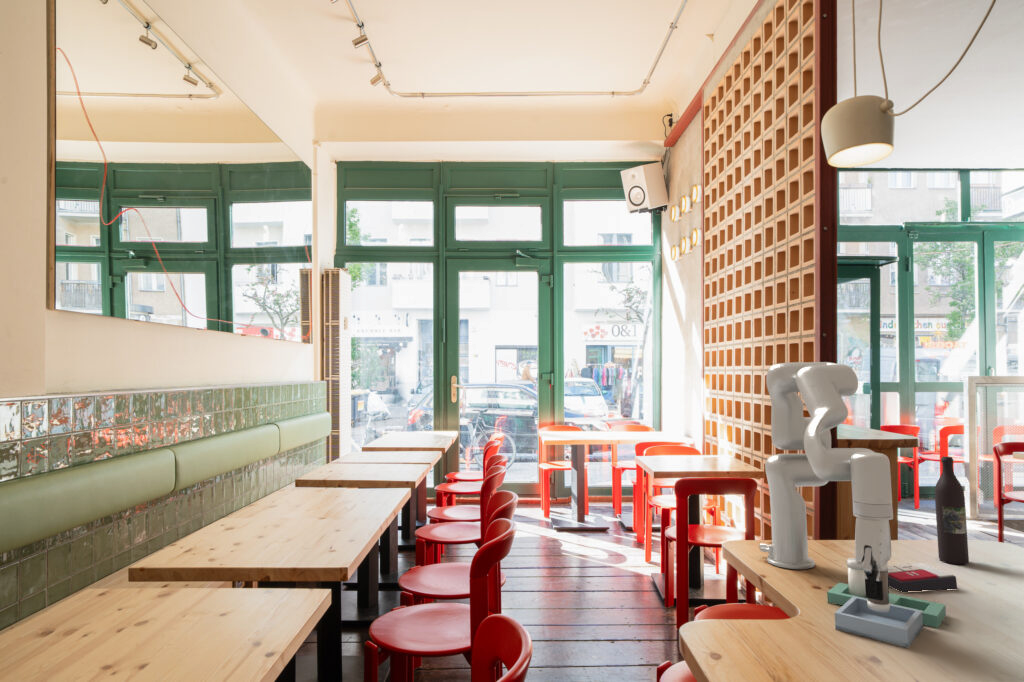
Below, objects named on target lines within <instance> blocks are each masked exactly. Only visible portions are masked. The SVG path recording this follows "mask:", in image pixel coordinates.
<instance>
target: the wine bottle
mask: <svg viewBox="0 0 1024 682" xmlns="http://www.w3.org/2000/svg"><path fill="white" fill-rule="evenodd" d="M940 462H941V463H942V465H941V466H942V471H941V474H940V476H939V479H938V480H937V482H936V485H935V486H934V488H935V489H934V503H935V506H934V507H935V516H936V517H935V518H936V533H937V534H936V535H937V536H936V537H937V550H938V551H937V552H938V559H939V560H940V561H941V562H944V563H945V562H946V564H949V563H951V564H950V565H956V564H958V565H959V566H960V565H961V566H962V565H964V564H965V565H967V564H969V563H970V558H969V544H968V543H969V542H968V530H967V529H968V527H967V514H966V497H965V491H964V488H963V485H962V484H961V482H960V481H959V479H958V478H957V476H956V475H955V472H954V467H953V466H954V458H953V457H952V456H941V458H940ZM958 565H957V566H958Z"/></svg>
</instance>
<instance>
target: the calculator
mask: <svg viewBox="0 0 1024 682" xmlns="http://www.w3.org/2000/svg"><path fill="white" fill-rule="evenodd" d="M887 566H888V580H889V586H891V587H893V588H895V589H897V590H899V591H902V592H908V591H922V590H936V591H941V590H947V589H957V590H958V583H957V582H958V581H957V576H956V575H954V574H952V573H950V572H948V571H946V570H943V569H940V568H937V567H936V566H932V565H930V564H927V563H924V562H920V563H919V562H918V563H912V564H911V563H902V564H893V565H887ZM891 587H890V588H891ZM893 588H892V589H893ZM895 589H894V590H895ZM897 590H896V591H897ZM899 591H898V592H899Z"/></svg>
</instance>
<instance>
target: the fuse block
mask: <svg viewBox="0 0 1024 682" xmlns="http://www.w3.org/2000/svg"><path fill="white" fill-rule="evenodd" d="M826 593H827V595H826V597H827V603H828V602H829V604H832V603H835V604H834V605H836V604H839V605H838V606H840V605H844V604H845V603H846V602H847V601H848V600H850V599H851V598H852V597H853V596H854V595H849V585H848V583H845V582H838V583H836V584H835V585H834V586H833V587H831V589H829V590H828V591H827V592H826ZM856 597H858V596H856ZM860 598H863V597H860ZM865 599H867V598H865ZM889 602H890V604H893V605H897V606H902V607H906V608H911V609H916V610H920V611H922V616H923V626H928V627H931V628H937V629H938V628H939V626H940V625H941V624H942V622H943V621H944V619H945V618H944V617H945V616H947V613H946V612H947V611H946V610H947V609H946V604H945V603H940V602H934V601H931V600H927V599H926V600H925V599H921V598H916V597H911V596H906V595H901V594H898V593H897V594H896V593H892V592H889Z"/></svg>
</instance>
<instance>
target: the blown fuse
mask: <svg viewBox="0 0 1024 682" xmlns="http://www.w3.org/2000/svg"><path fill="white" fill-rule="evenodd" d="M872 565H876V563H875V562H872ZM888 566H889V565H888V562H887V563H885V564H884V565H883V566H881V567H880V581H882V584H883V600H882V601H880V600H875V599H871V598H867V607H868V608H869V609H871V610H873V611H877V612H889V611H890V602H889V593H890V590H889V591H888V575H887V570H888ZM872 569H873V570H875V572H876V569H875V568H872Z"/></svg>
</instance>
